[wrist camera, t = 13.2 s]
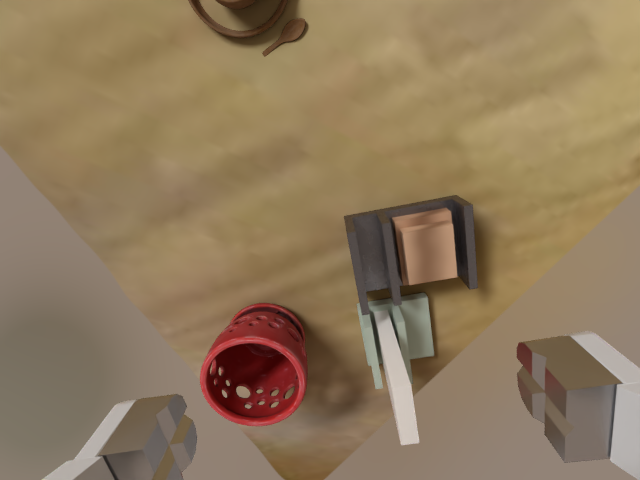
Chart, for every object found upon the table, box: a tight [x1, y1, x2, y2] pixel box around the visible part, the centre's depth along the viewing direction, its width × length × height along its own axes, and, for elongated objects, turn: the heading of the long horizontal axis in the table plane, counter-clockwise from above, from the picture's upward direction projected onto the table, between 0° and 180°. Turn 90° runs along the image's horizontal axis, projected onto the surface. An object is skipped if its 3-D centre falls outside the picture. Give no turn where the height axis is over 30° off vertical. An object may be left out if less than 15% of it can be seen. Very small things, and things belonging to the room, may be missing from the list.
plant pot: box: [200, 303, 308, 426], centre depth 48 cm, size 13×13×12 cm
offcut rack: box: [344, 195, 478, 315], centre depth 45 cm, size 15×11×8 cm
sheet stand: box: [357, 292, 434, 389], centre depth 50 cm, size 10×10×6 cm
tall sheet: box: [374, 310, 419, 445], centre depth 45 cm, size 2×8×15 cm, turn 11°
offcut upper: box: [400, 220, 457, 285], centre depth 44 cm, size 6×7×2 cm
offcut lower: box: [392, 208, 452, 286], centre depth 46 cm, size 7×9×2 cm
